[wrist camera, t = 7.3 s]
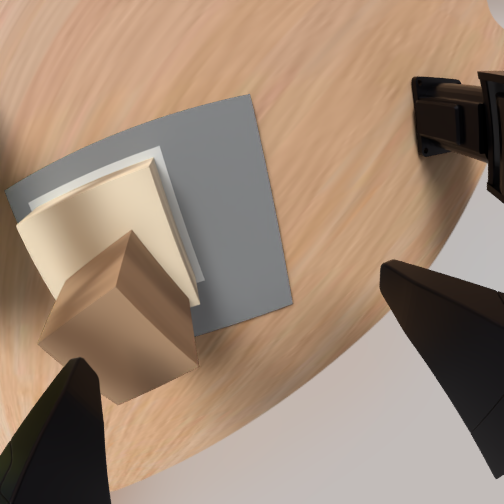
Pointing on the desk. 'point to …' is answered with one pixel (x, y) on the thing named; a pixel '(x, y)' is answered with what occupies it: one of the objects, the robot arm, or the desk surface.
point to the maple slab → (107, 227)
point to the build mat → (195, 202)
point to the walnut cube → (123, 322)
